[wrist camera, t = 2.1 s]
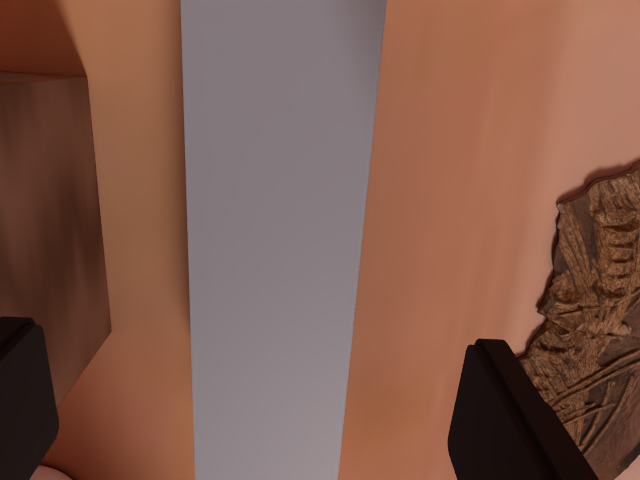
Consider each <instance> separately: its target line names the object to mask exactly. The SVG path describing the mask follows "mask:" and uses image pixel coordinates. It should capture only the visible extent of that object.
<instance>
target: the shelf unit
mask: <svg viewBox="0 0 640 480" xmlns="http://www.w3.org/2000/svg"><path fill="white" fill-rule="evenodd" d="M3 316H10V317H30V318H32V319H34V321H35V322H36V324H37V325H41V326H42V328H43V331H44V336H45V342H46V348H47V354H48V360H49V366H50V372H51V378H52V384H53V390H54V396H55V402H56V408H57V407H58V406H59V405H60V403H61V402H62V400H63V399H64V398H65V396H66V395H67V393H68V392H69V391H70V389H71V388H72V386H73V385H74V383H75V382H76V381H77V379H78V378H79V376H80V375H81V374H82V372H83V371H84V369H85V368H86V367H87V365H88V364H89V362H90V361H91V359H92V358H93V357H94V355H95V354H96V352H97V351H98V350H99V348H100V347H101V345H102V344H103V343H104V341H105V340H106V338H107V337H108V336H109V334H110V333H111V323H110V312H109V302H108V291H107V281H106V270H105V260H104V250H103V239H102V229H101V218H100V208H99V197H98V187H97V176H96V166H95V155H94V145H93V134H92V124H91V113H90V103H89V92H88V82H87V77H80V76H65V75H50V74H35V73H20V72H5V71H0V317H3Z"/></svg>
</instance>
